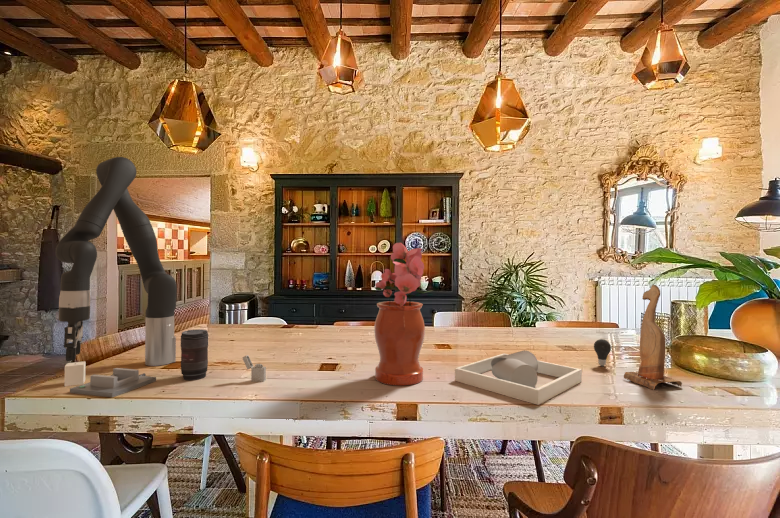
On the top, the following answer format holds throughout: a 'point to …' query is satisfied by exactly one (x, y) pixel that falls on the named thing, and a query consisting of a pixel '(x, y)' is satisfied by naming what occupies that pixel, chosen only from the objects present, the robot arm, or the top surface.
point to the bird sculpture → (651, 347)
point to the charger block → (75, 373)
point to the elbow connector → (516, 368)
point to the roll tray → (529, 394)
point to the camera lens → (194, 354)
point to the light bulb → (602, 350)
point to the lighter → (255, 370)
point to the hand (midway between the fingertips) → (73, 357)
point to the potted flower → (400, 321)
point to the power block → (113, 383)
